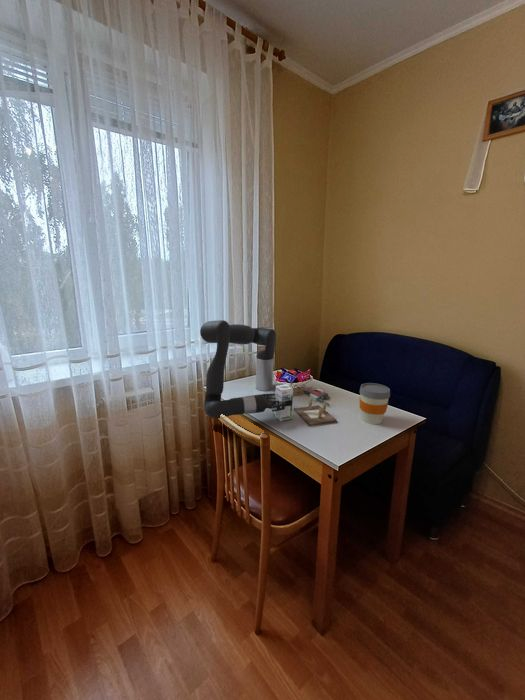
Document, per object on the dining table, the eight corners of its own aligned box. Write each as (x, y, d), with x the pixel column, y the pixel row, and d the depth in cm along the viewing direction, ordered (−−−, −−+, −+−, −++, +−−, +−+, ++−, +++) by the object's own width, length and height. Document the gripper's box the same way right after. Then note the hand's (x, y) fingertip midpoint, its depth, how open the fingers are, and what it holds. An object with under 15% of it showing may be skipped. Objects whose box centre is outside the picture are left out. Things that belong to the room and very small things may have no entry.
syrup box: (280, 421, 137) (281, 389, 133) (274, 415, 142) (275, 385, 138) (291, 419, 139) (293, 388, 135) (285, 413, 144) (287, 383, 140)
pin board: (293, 410, 147) (294, 399, 146) (318, 407, 152) (319, 396, 150) (309, 426, 133) (310, 414, 131) (336, 422, 137) (337, 410, 136)
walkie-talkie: (299, 394, 168) (327, 408, 152) (300, 386, 167) (328, 399, 151) (312, 391, 173) (339, 404, 157) (312, 383, 172) (340, 395, 156)
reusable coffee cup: (350, 416, 143) (353, 385, 139) (369, 411, 149) (373, 381, 145) (372, 428, 132) (377, 395, 129) (392, 422, 139) (397, 390, 135)
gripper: (258, 402, 126) (296, 398, 132) (247, 389, 139) (283, 386, 145) (257, 419, 128) (295, 414, 134) (247, 405, 141) (282, 401, 147)
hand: (288, 399), depth 139 cm, fingers closed on syrup box, 6 cm apart
